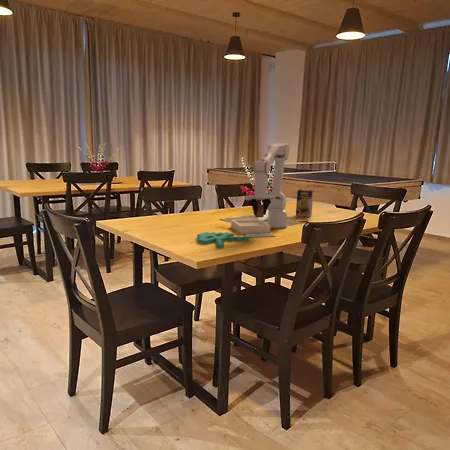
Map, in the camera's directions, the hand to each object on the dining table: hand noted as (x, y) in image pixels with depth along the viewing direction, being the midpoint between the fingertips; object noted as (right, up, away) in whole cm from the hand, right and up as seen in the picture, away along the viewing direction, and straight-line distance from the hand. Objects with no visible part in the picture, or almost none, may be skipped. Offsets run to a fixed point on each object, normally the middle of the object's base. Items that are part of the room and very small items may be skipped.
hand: (259, 214), depth 197 cm
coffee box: (+32, +1, +58) cm, 66 cm away
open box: (-4, -7, +14) cm, 16 cm away
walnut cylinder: (0, -1, 0) cm, 1 cm away
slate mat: (0, -10, +2) cm, 10 cm away
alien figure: (-20, -13, -9) cm, 25 cm away
